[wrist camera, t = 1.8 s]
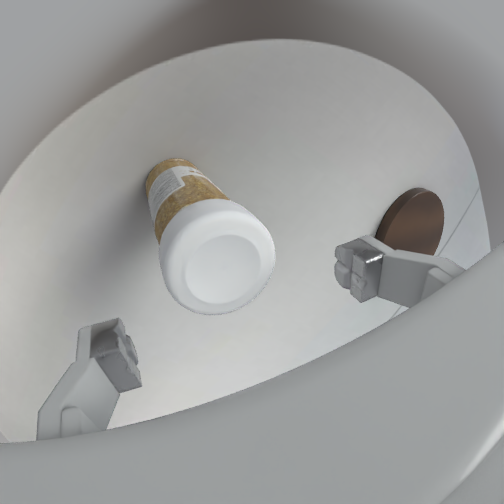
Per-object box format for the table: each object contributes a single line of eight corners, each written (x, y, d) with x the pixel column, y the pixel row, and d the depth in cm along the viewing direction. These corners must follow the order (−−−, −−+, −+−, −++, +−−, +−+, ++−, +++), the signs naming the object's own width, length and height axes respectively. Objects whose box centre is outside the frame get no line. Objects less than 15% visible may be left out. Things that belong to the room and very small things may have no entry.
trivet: (376, 198, 31) (385, 202, 30) (441, 181, 35) (449, 184, 34) (366, 296, 38) (373, 301, 37) (428, 264, 42) (434, 268, 41)
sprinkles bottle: (212, 183, 23) (299, 260, 12) (174, 224, 24) (224, 335, 13) (172, 144, 21) (226, 186, 10) (131, 189, 21) (138, 283, 10)
